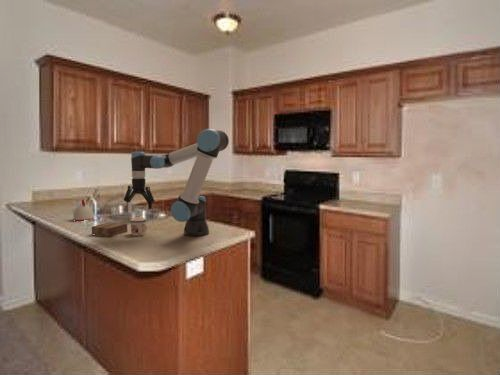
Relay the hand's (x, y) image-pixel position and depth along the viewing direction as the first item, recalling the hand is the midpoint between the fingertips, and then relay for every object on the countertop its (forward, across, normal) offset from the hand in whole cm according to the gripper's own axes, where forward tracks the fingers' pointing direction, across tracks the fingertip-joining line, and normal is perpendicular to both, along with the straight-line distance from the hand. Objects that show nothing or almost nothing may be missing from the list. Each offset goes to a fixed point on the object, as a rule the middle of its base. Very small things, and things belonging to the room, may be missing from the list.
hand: (139, 213), depth 197 cm
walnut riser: (+13, -18, -4) cm, 23 cm away
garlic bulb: (+14, -65, +22) cm, 70 cm away
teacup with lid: (+13, +1, 0) cm, 13 cm away
